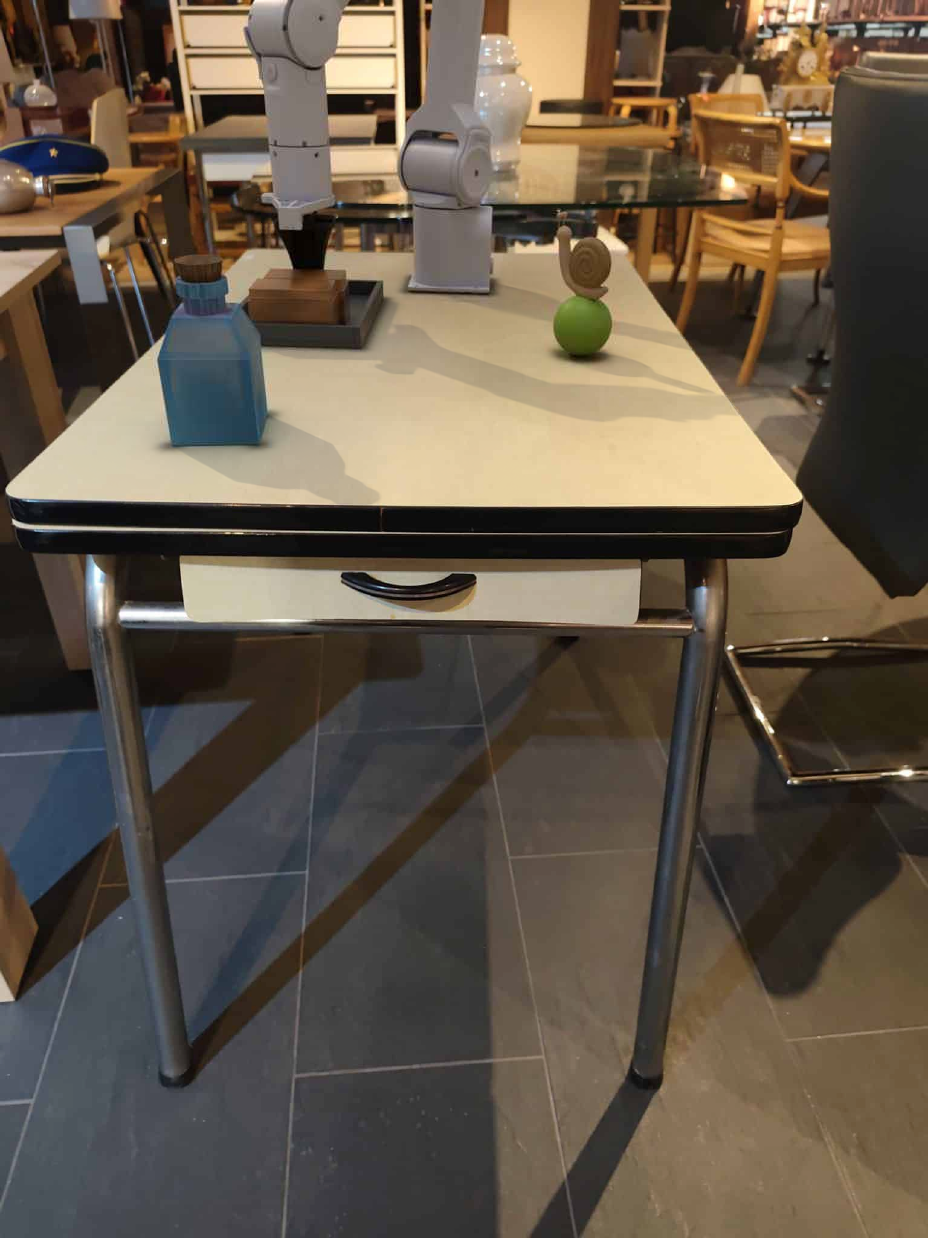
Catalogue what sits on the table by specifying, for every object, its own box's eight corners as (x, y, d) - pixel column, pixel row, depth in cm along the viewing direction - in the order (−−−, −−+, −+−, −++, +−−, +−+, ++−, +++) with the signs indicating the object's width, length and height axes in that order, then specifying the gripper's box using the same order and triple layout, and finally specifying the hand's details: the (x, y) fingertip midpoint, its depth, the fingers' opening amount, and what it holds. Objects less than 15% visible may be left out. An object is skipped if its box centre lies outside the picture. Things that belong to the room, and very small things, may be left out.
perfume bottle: (186, 414, 69) (160, 249, 62) (267, 413, 69) (250, 250, 62) (171, 445, 63) (141, 269, 57) (259, 444, 64) (239, 269, 57)
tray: (383, 298, 100) (383, 280, 99) (361, 348, 84) (360, 326, 83) (267, 295, 100) (265, 276, 99) (223, 344, 84) (220, 322, 83)
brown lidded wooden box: (350, 314, 92) (348, 269, 90) (345, 326, 88) (343, 279, 86) (273, 313, 92) (268, 267, 89) (265, 325, 88) (260, 277, 86)
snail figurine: (568, 340, 88) (579, 208, 81) (620, 355, 84) (636, 217, 77) (531, 351, 84) (540, 214, 78) (583, 366, 81) (597, 224, 74)
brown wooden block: (340, 326, 88) (337, 279, 86) (335, 339, 84) (332, 290, 82) (260, 324, 88) (255, 277, 86) (251, 337, 84) (245, 288, 82)
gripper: (274, 135, 90) (286, 275, 98) (238, 151, 78) (255, 309, 86) (342, 137, 90) (349, 277, 97) (318, 153, 78) (328, 311, 85)
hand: (310, 292), depth 92 cm, fingers closed
